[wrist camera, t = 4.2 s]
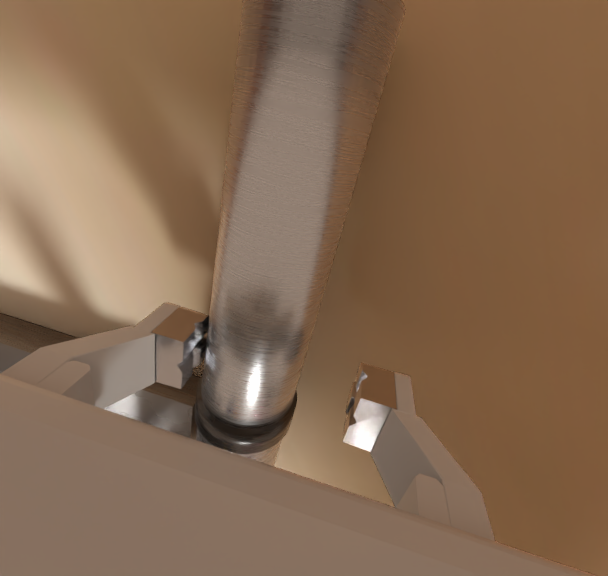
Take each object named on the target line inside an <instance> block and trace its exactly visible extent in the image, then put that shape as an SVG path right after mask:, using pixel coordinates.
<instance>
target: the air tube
mask: <svg viewBox="0 0 608 576" xmlns="http://www.w3.org/2000/svg"><path fill="white" fill-rule="evenodd" d="M404 15H405V5H404V3H403V2H402V0H243V6H242V16H241V25H240V34H239V44H238V53H237V62H236V71H235V81H234V90H233V99H232V109H231V118H230V127H229V137H228V146H227V155H226V164H225V174H224V183H223V192H222V202H221V211H220V220H219V230H218V239H217V248H216V257H215V267H214V276H213V285H212V295H211V304H210V313H209V323H208V332H207V341H206V350H205V360H204V369H203V375H202V377H201V378H200V380H199V383H198V385H197V391H196V401H195V422H196V425H197V434H196V440H197V441H200V442H203V443H206V444H209V445H212V446H215V447H218V448H221V449H224V450H227V451H230V452H233V453H236V454H238V455H241V456H244V457H247V458H250V459H253V460H256V461H259V462H262V463H265V464H268V465H271V466H274V464H275V460H276V457H277V454H278V450H279V447H280V443H281V440H282V438H283V437H284V436H285V435H286V433H287V431H288V429H289V426H290V423H291V420H292V417H293V413H294V410H295V407H296V402H297V393H296V388H297V384H298V381H299V377H300V374H301V371H302V367H303V364H304V360H305V357H306V353H307V350H308V346H309V343H310V339H311V336H312V333H313V329H314V326H315V322H316V319H317V315H318V312H319V308H320V305H321V301H322V298H323V295H324V291H325V288H326V284H327V281H328V277H329V274H330V270H331V267H332V263H333V260H334V257H335V253H336V250H337V246H338V243H339V239H340V236H341V232H342V229H343V225H344V222H345V219H346V215H347V212H348V208H349V205H350V201H351V198H352V194H353V191H354V187H355V184H356V180H357V177H358V174H359V170H360V167H361V163H362V160H363V156H364V153H365V149H366V146H367V142H368V139H369V136H370V132H371V129H372V125H373V122H374V118H375V115H376V111H377V108H378V104H379V101H380V98H381V94H382V91H383V87H384V84H385V80H386V77H387V73H388V70H389V66H390V63H391V60H392V56H393V53H394V49H395V46H396V42H397V39H398V35H399V32H400V28H401V25H402V22H403V18H404Z"/></svg>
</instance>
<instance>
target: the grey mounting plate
mask: <svg viewBox="0 0 608 576" xmlns="http://www.w3.org/2000/svg"><path fill="white" fill-rule="evenodd" d="M74 339H78V338H76V337H73V336H70V335H67V334H63V333H60V332H57V331H54V330H51V329H48V328H45V327H42V326H39V325H36V324H32V323H29V322H26V321H23V320H20V319H17V318H14V317H11V316H8V315H5V314H1V313H0V373H2V372H3V371H5V370H7V369H8V368H10V367H11V366H13V365H14V364H16V363H17V362H19V361H21V360H22V359H24V358H25V357H27V356H28V355H30V354H31V353H33V352H34V351H36V350H38V349H39V348H41V347H45V346H49V345H53V344H57V343H61V342H65V341H70V340H74ZM199 380H200V377H197V376H194V375H192V376H191V377H190V378H189V380H188V381H187V382H186V383H185V385H184V386H183V387H182V389H179V388H176V387H172V386H169V385H165V384H162V383H159V382H155V383H154V384H152V385H150V386H148V387H146V388H144V389H142V390H140V391H138V392H136V393H134V394H132V395H130V396H128V397H126V398H124V399H122V400H120V401H118V402H116V403H114V404H112V405H110V406H108V407H106V408H104V409H105V410H108V411H111V412H114V413H117V414H120V415H123V416H126V417H129V418H132V419H135V420H138V421H141V422H144V423H147V424H150V425H153V426H156V427H159V428H162V429H164V430H167V431H170V432H173V433H176V434H179V435H182V436H185V437H188V438H191V439H194V440H196V434H197V425H196V422H195V401H196V391H197V385H198V383H199Z"/></svg>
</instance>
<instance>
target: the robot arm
mask: <svg viewBox="0 0 608 576" xmlns="http://www.w3.org/2000/svg"><path fill="white" fill-rule="evenodd" d="M208 323H209V315H206V314H203V313H200V312H197V311H194V310H191V309H188V308H185V307H181V306H178V305H175V304H172V303H169V302H167V303H163V304H162V305H161V306H160V307H158V308H157V309H156V310H155V311H153V312H152V313H151V314H150V315H148V316H147V317H146V318H145V319H143V320H142V321H141V322H140V323H138V324H137V325H136V326H135V327H131V326H127V327H123V328H119V329H115V330H111V331H106V332H102V333H98V334H94V335H90V336H86V337H82V338H78V339H74V340H70V341H65V342H61V343H57V344H53V345H49V346H45V347H41V348H39V349H38V350H36V351H34V352H33V353H31V354H30V355H28V356H27V357H25V358H24V359H22V360H21V361H19V362H17V363H16V364H14V365H13V366H11V367H10V368H8V369H7V370H5V371H3V372H2V373H0V576H596V575H593V574H590V573H587V572H584V571H581V570H578V569H575V568H572V567H569V566H567V565H564V564H561V563H558V562H555V561H552V560H549V559H546V558H543V557H540V556H537V555H534V554H531V553H528V552H525V551H522V550H519V549H516V548H513V547H510V546H507V545H504V544H501V543H499V542H496V541H495V538H494V535H493V531H492V528H491V524H490V521H489V517H488V514H487V510H486V507H485V503H484V500H483V496H482V493H481V491H480V490H479V489H478V488H477V486H476V485H475V484H474V483H473V481H472V480H471V479H470V478H469V476H468V475H467V474H466V473H465V472H464V470H463V469H462V468H461V467H460V465H459V464H458V463H457V462H456V460H455V459H454V458H453V457H452V455H451V454H450V453H449V452H448V450H447V449H446V448H445V447H444V445H443V444H442V443H441V442H440V440H439V439H438V438H437V437H436V435H435V434H434V433H433V432H432V430H431V429H430V428H429V427H428V425H427V424H426V423H425V422H424V420H423V419H422V418H421V417H418V416H416V410H415V403H414V396H413V389H412V383H411V378H410V376H409V375H405V374H401V373H398V372H394V371H393V372H392V371H389V370H385V369H382V368H379V367H375V366H372V365H369V364H365V363H362V362H361V364H360V366H359V369H358V371H357V379H356V381H355V382H353V384H352V387H351V390H350V393H349V396H348V401H347V406H346V413H347V415H348V416H347V418H346V421H345V424H344V434H343V442H344V443H347V444H350V445H353V446H356V447H358V448H361V449H364V450H367V451H370V454H371V456H372V458H373V460H374V462H375V465H376V467H377V469H378V471H379V473H380V475H381V477H382V480H383V482H384V484H385V486H386V488H387V490H388V493H389V495H390V497H391V499H392V501H393V503H394V505H395V507H392V506H389V505H386V504H383V503H380V502H377V501H374V500H371V499H368V498H365V497H362V496H359V495H356V494H354V493H351V492H348V491H345V490H342V489H339V488H336V487H333V486H330V485H327V484H324V483H321V482H318V481H315V480H312V479H309V478H306V477H303V476H300V475H298V474H295V473H292V472H289V471H286V470H283V469H280V468H277V467H274V466H271V465H268V464H265V463H262V462H259V461H256V460H253V459H250V458H247V457H244V456H241V455H238V454H236V453H233V452H230V451H227V450H224V449H221V448H218V447H215V446H212V445H209V444H206V443H203V442H200V441H197V440H194V439H191V438H188V437H185V436H182V435H179V434H176V433H173V432H170V431H167V430H164V429H162V428H159V427H156V426H153V425H150V424H147V423H144V422H141V421H138V420H135V419H132V418H129V417H126V416H123V415H120V414H117V413H114V412H111V411H108V410H105V409H104V408H106V407H108V406H110V405H112V404H114V403H116V402H118V401H120V400H122V399H124V398H126V397H128V396H130V395H132V394H134V393H136V392H138V391H140V390H142V389H144V388H146V387H148V386H150V385H152V384H154V383H155V382H159V383H162V384H165V385H169V386H172V387H176V388H179V389H182V387H183V386H184V385H185V383H186V382H187V381H188V380H189V378H190V377H191V376H192V372H193V368H194V367H196V366H199V365H200V364H201V362H202V361H203V359H204V357H205V350H206V341H207V331H208Z"/></svg>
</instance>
